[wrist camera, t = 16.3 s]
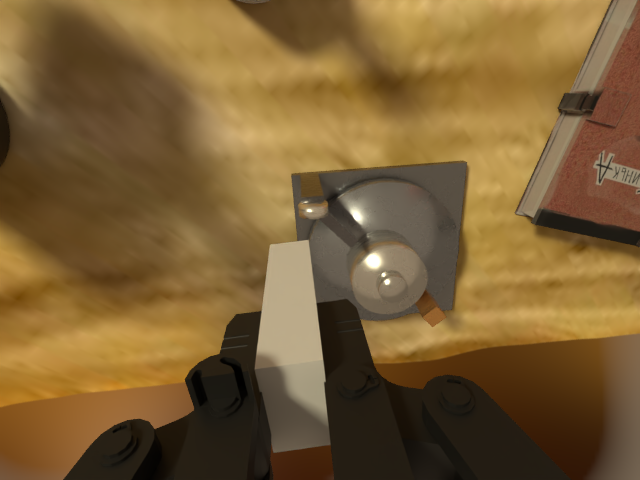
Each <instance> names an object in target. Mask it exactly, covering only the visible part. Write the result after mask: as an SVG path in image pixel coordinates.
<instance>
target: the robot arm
mask: <svg viewBox="0 0 640 480" xmlns="http://www.w3.org/2000/svg"><path fill="white" fill-rule="evenodd" d="M8 146H9V126H8V121H7V117H6V113H5V110H4V107H3V105H2V103H1V101H0V166H1V164H2V163H3V161H4V159H5V157H6V154H7V151H8ZM185 382H186V385H187V387H188V391H189V394H190V397H191V399H192V402H193V405H194V411H192V412H191V413H190V414H188V415H187V416H185V417H183V418H181V419H179V420H176V421H174V422H172V423H169V424H167V425H165V426H162V427H159V428H157V429H154V428H153V426H152V425H151V424H150V422H148V421H145V420H142V419H133V420H127V421H124V422H122V423H119V424H117V425H114V426H113V427H112V428H110V429H108V430H107V431H105V432H104V433H102V434H101V435H100V436H99V437H98V438H97V439H96V440H95V441H94V442H93V443H92V444H91V445H90V447H89V448H88V449H87V450H86V452H85V453H84V454H83V455H82V457H81V458H80V459H79V460H78V462H77V463H76V464H75V465H74V467H73V468H72V469H71V471H70V472H69V473H68V474H67V476H66V477H65V478H64V479H63V480H273V472H272V466H271V461H270V453H271V443H272V448H273V452H274V453H276V452H282V451H290V450H297V449H304V448H311V447H318V446H325V445H331V452H332V461H333V470H334V480H571V479H570V478H569V477H568V476H567V475H566V474H565V473H564V472H563V471H562V470H561V469H560V468H559V467H558V466H557V465H556V464H555V463H554V462H553V461H552V460H551V459H550V458H549V457H548V456H547V455H546V454H545V453H544V452H543V451H542V449H541V448H540V447H539V446H538V445H537V444H536V443H535V442H534V441H533V440H532V439H531V438H530V437H529V436H528V435H527V434H526V433H525V432H524V431H523V430H522V429H521V428H520V427H519V426H518V425H517V424H516V423H515V422H514V421H513V420H512V419H511V418H510V417H509V416H508V415H507V414H506V413H505V412H504V411H503V410H502V409H501V408H500V406H498V404H497V403H496V402H495V401H494V400H493V399H491V397H490V396H489V395H488V394H487V393H486V392H485V391H484V390H483V389H481V388H480V387H479V386H478V385H476V384H475V383H474V382H472V381H470V380H468V379H465V378H463V377H460V376H453V375H444V376H438V377H435V378H433V379H432V380H430V381H428V382H427V384H426V386H425V387H424V389H416V388H408V387H403V386H398V385H396V384H393V383H391V382H389V381H387V380H386V379H384V378H383V377H382V376H381V375H380V374H379V373H378V372H377V370H376V368H375V366H374V363H373V360H372V357H371V353H370V350H369V347H368V343H367V340H366V337H365V334H364V330H363V327H362V324H361V321H360V317H359V314H358V310H357V307H356V306H354V305H353V304H352V303H351V302H350V301H349V300H348V299H343V300H336V301H328V302H320V303H316V297H315V289H314V280H313V272H312V264H311V256H310V248H309V240H303V241H295V242H287V243H279V244H271V245H270V249H269V257H268V265H267V273H266V281H265V289H264V297H263V305H262V311H259V312H251V313H243V314H236V315H235V316H234V318H233V319H232V320H231V321H230V322H229V324H228V325H227V327H226V331H225V335H224V340H223V342H222V346H221V350H220V354H218V355H214V356H210V357H208V358H207V359H205V360H203V361H201V362H199V363H198V364H197V365H196V366H195V367H194V368H192V369H191V370H190V372H189V373H188V375H187V377H186V378H185Z"/></svg>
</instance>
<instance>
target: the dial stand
mask: <svg viewBox="0 0 640 480" xmlns="http://www.w3.org/2000/svg"><path fill="white" fill-rule="evenodd" d="M300 179H301V200H302V202H300V203H299V204H298V206H299V216H300V217H301V218H303V219H319V220H320V221H321V222H323V223H324V224H325V225H326V226H327V227H328V228H329V229H330V230H331V231H333V232H334V233H335V234H336V235H337V236H338V237H339V238H340V239H341V240H343V241H344V242H345V243H346V244H347V245H348V246H349V247H350V248H351V247H353V246H354V245H355V244H356V243H357V242H358V239H357V237H356V236H355V235H354V234H353V233H352V232H351V231H350V230H349V229H348V228H347V227H345V226H344V225H343V224H342V223H341V222H340V221H339V220H338V219H337V218H336V217H335V216H334V215H332V214H331V213H330V212H329V211H328V202H327V201H325V200H324V195H323V191H322V187H321V183H320V179H319V175H318V174H306V175H300Z"/></svg>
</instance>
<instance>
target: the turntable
mask: <svg viewBox="0 0 640 480" xmlns="http://www.w3.org/2000/svg"><path fill="white" fill-rule="evenodd" d="M328 211H329V212H330V213H331V214H332V215H334V216H335V217H336V218H337V219H338V220H339V221H340V222H341V223H342V224H343V225H344V226H345V227H347V228H348V229H349V230H350V231H351V232H352V233H353V234H354V235H355V236H356V237H357V239H359V238H360V237H361V236H363V235H364V234H366V233H369V232H371V231H375V230H391V231H395V232H397V233H399V234H401V235H402V236H404V237H405V238H406V239H407V240H408V242H409V243H410V245H411V246H412V247H413V249H414V250H415V252H416V253H417V254H418V256H419V257H420V259H421V260H422V262H423V263H424V265H425V267H426V270H427V275H428V280H427V285H426V288H425V291H424V293H423V294H422V296H421V297H420V298H419V300H418V301H417V302H416V303H414V304H413V305H412V306H411V307H409V308H407V309H405V310H403V311H400V312H397V313H393V314H378V313H374V312H371V311H369V310H367V309H366V308H364V307H363V306H362V305H361V304H360V303H359V302H358V301H357V299H356V298H355V295H354V292H353V289H352V285H351V282H350V278H349V275H348V271H347V267H346V259H347V254H348V252H349V250H350V247H349V246H348V245H347V244H346V243H345V242H344V241H343V240H341V239H340V238H339V237H338V236H337V235H336V234H335V233H334V232H333V231H331V230H330V229H329V228H328V227H327V226H326V225H325V224H324V223H323V222H321V221H320V220H319V219H315V221H314V223H313V226H312V228H311V231H310V234H309V238H308V240H309V248H310V256H311V264H312V272H313V280H314V286H315V288H316V290H317V291H318V293H319V294H320V296H321V297H322V298H323V299H324V300H325V301H326V302H328V301H336V300H343V299H348V300H349V301H350V302H351V303H352V304H353V305H354V306H356V307H357V310H358V314H359V317H360V319H363V320H374V321H378V320H388V319H394V318H398V317H401V316H404V315H407V314H409V313H412V312H414V311H416V310H419V312H420V313H421V315H422V317H423V318H424V319H425V320H426V321H427V322H428V323H429V324H430V325H431V326H432V327H434V326H435V325H436V324H438V323H439V322H440V321H442V320H443V319H445V318H446V316H445V314H444V312H443V311H442V309H441V308H440V306H439V305H438V303H437V302H436V300H435V299H434V297H435V296H436V295H437V294H438V293H439V292H440V291H441V290H442V289H443V287H444V286H445V285H446V283H447V282H448V280H449V278H450V277H451V275H452V273H453V270H454V268H455V265H456V262H457V258H458V251H459V238H458V231H457V228H456V225H455V222H454V220H453V218H452V216H451V214H450V212H449V211H448V210H447V208H446V207H445V206H444V205H443V204H442V202H441V201H440V200H439V199H437V198H436V197H435V196H433V195H432V194H431V193H429V192H428V191H427V190H426V189H424V188H422V187H420V186H419V185H417V184H414V183H411V182H409V181H405V180H401V179H393V178H378V179H372V180H367V181H364V182H360V183H357V184H355V185H353V186H351V187H348V188H347V189H345V190H343V191H342V192H340V193H339V194H337V195H336V196H335V197H334V198H332V199H331V200H330V201H329V202H328Z"/></svg>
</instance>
